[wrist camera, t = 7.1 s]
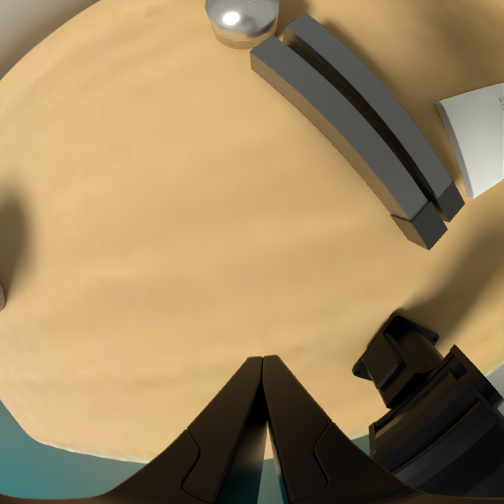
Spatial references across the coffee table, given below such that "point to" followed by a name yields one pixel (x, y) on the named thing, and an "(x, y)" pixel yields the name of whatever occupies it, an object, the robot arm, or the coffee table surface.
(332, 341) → the coffee table surface
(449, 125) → the external hard drive
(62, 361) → the coffee table surface
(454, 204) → the tongs fixed arm
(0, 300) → the coffee cup
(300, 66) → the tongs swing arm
